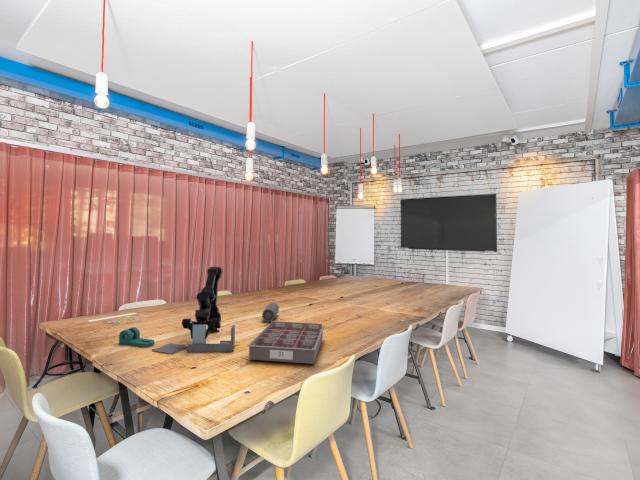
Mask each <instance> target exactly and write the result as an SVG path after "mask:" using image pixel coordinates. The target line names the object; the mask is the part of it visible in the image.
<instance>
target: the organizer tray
mask: <svg viewBox="0 0 640 480" xmlns="http://www.w3.org/2000/svg"><path fill="white" fill-rule="evenodd" d="M324 328H325V326H323V323H316V322H315V323H314V322H298V321H297V322H296V321H278V320H272V321H270V323H269V324H268V325H267V326H266V327H265V328H264V329H263V330H262V331H261V332H260V333H259V334H258V335H257V336H256V337H255V338H254V339H253V340H252V341H251V342H249V343H248V345H247V347H248V348H249V349H248V350H249V351H248V360H254V361H268V362H283V363H296V364H311V365H314V364H315V362H316V359H317V357H318V353H319V350H320V347H321V344H322V341H323V337H324V334H323V333H324Z"/></svg>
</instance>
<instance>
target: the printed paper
mask: <svg viewBox="0 0 640 480" xmlns="http://www.w3.org/2000/svg"><path fill="white" fill-rule="evenodd" d="M137 314H138V313H137V312H131V313H125V314H119V315H113V316H107V317H102V318H94V319H90V320H87V321H88V322H91V323H92V322H97V321H102V322H107V324H112V325H115V324H121V323H122V321H120V320H118V319H115V318H118V317H119V318H121V319H122V320H126V319H127V320H128V321H130V319H131V320H132V319H133V320H132V322H134V321H139V320H140V318H136V317H134V316H133V315H137Z"/></svg>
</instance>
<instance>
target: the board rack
mask: <svg viewBox="0 0 640 480" xmlns="http://www.w3.org/2000/svg"><path fill="white" fill-rule="evenodd" d="M230 328H231V329H230V340H219V343H206V344H192V343H187V345H186V346H187V348H186V349H187V350H186V351H187V353H188V354H189V353H190V354H193V353H201V354H202V353H204V352H205V353H233V352H234V350H235V347H236V346H235V345H236V344H235V343H236V341H235V340H236V325H234V324H233V325H232V326H231V327H230ZM221 342H230V343H225V344H221Z"/></svg>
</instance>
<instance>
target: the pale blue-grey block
mask: <svg viewBox="0 0 640 480" xmlns="http://www.w3.org/2000/svg"><path fill="white" fill-rule="evenodd" d="M206 330H207V325H206V324H194V325H193V339H192V343H191V344H207V338H206V339H205V335H206Z"/></svg>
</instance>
